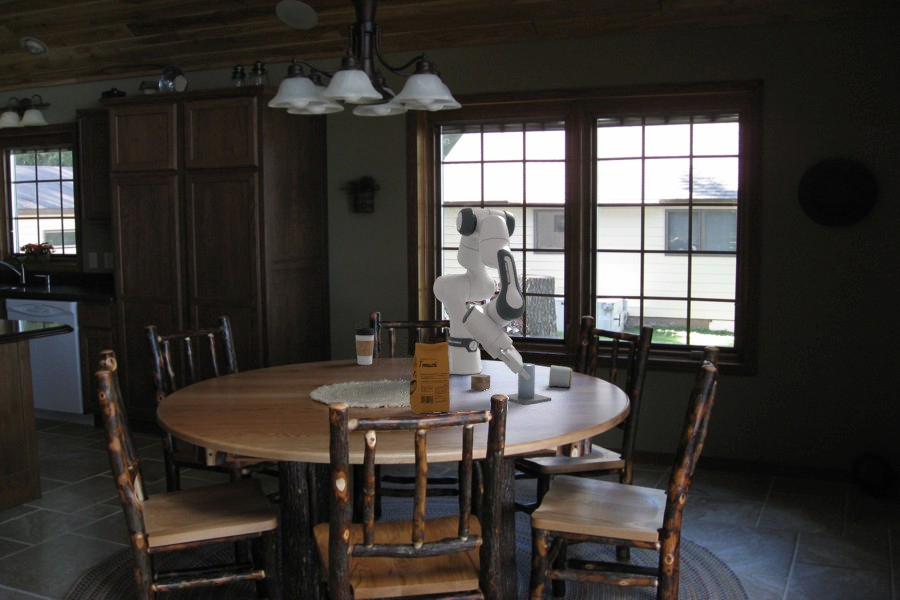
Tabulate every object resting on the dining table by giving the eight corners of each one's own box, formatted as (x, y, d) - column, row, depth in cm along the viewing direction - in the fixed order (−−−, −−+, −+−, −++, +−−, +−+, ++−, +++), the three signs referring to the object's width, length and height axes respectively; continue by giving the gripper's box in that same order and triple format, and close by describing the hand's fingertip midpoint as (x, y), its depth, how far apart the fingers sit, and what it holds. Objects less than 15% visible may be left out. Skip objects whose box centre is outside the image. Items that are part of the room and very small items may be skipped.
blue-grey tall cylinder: (514, 396, 288) (515, 364, 287) (526, 394, 291) (527, 362, 290) (525, 399, 283) (526, 367, 282) (537, 397, 287) (538, 365, 285)
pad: (501, 398, 288) (501, 396, 288) (527, 394, 295) (527, 391, 295) (525, 404, 279) (525, 402, 279) (551, 400, 286) (551, 397, 286)
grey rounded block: (571, 389, 305) (572, 368, 304) (548, 387, 307) (549, 367, 306) (572, 383, 316) (573, 363, 315) (550, 382, 317) (551, 362, 316)
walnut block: (470, 389, 303) (471, 375, 302) (478, 387, 307) (478, 373, 306) (482, 391, 300) (483, 377, 299) (490, 389, 304) (490, 375, 304)
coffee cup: (353, 365, 349) (353, 329, 347) (356, 361, 357) (356, 326, 356) (373, 365, 348) (373, 329, 347) (376, 362, 357) (376, 326, 355)
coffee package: (408, 408, 272) (408, 340, 270) (445, 406, 275) (446, 339, 272) (412, 415, 263) (412, 345, 260) (451, 413, 265) (452, 344, 263)
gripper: (507, 344, 275) (536, 375, 276) (506, 335, 296) (534, 364, 296) (493, 358, 276) (522, 388, 276) (493, 348, 296) (521, 376, 297)
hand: (528, 375), depth 286 cm, fingers open, 8 cm apart
